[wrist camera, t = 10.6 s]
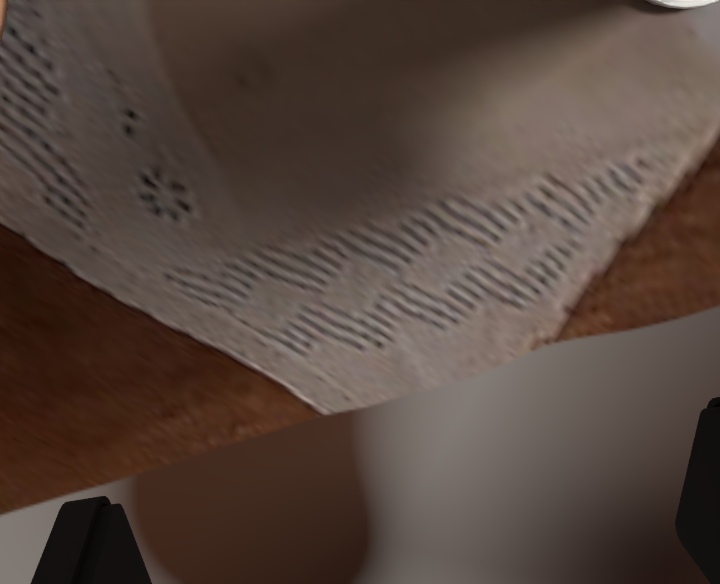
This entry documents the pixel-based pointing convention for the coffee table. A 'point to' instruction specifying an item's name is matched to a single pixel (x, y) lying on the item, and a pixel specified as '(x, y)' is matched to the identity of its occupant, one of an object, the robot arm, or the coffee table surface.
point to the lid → (3, 16)
